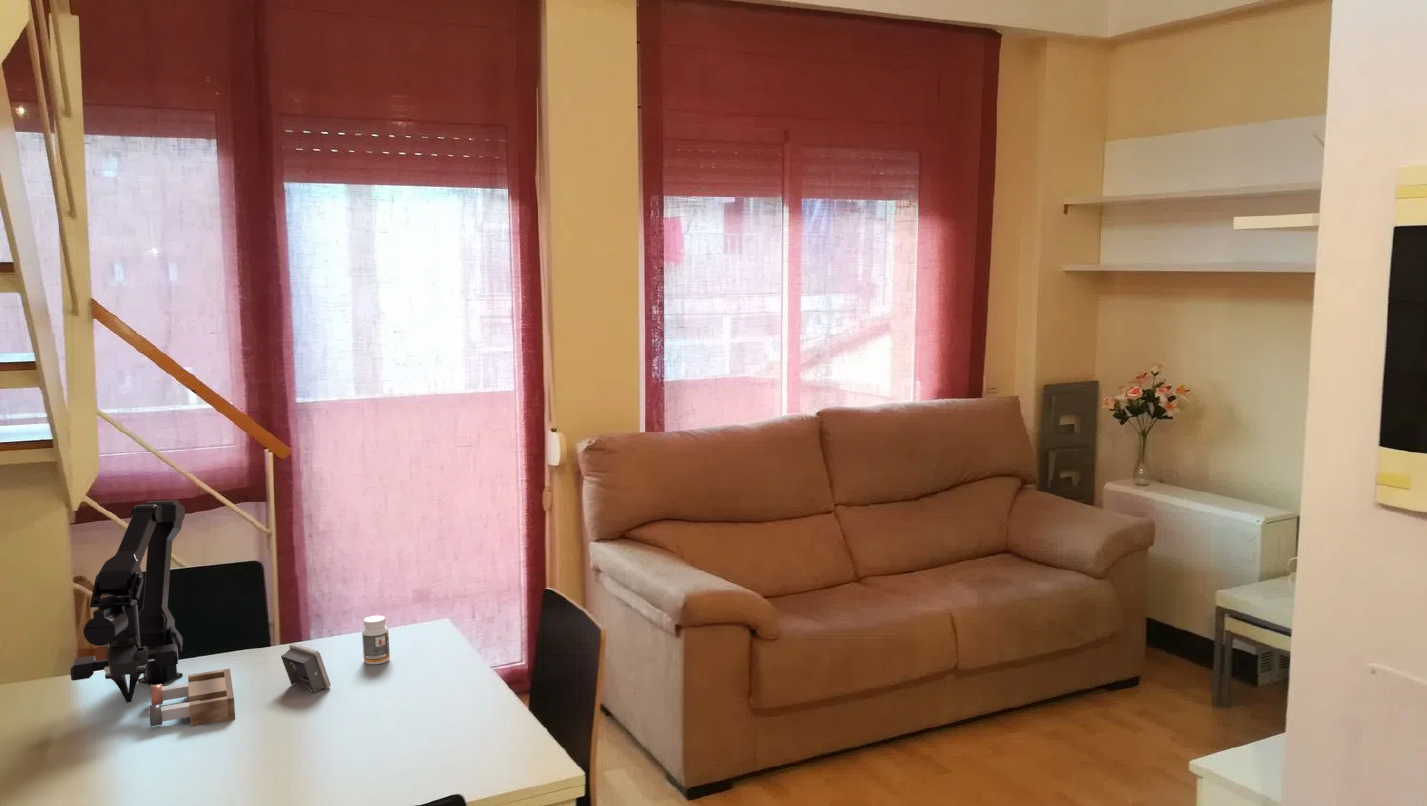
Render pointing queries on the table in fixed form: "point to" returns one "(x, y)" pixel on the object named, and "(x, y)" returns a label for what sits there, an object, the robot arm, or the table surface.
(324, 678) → the electrical switch
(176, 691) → the red knob
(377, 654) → the pill bottle
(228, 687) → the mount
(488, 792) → the table surface
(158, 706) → the white and gray knob
